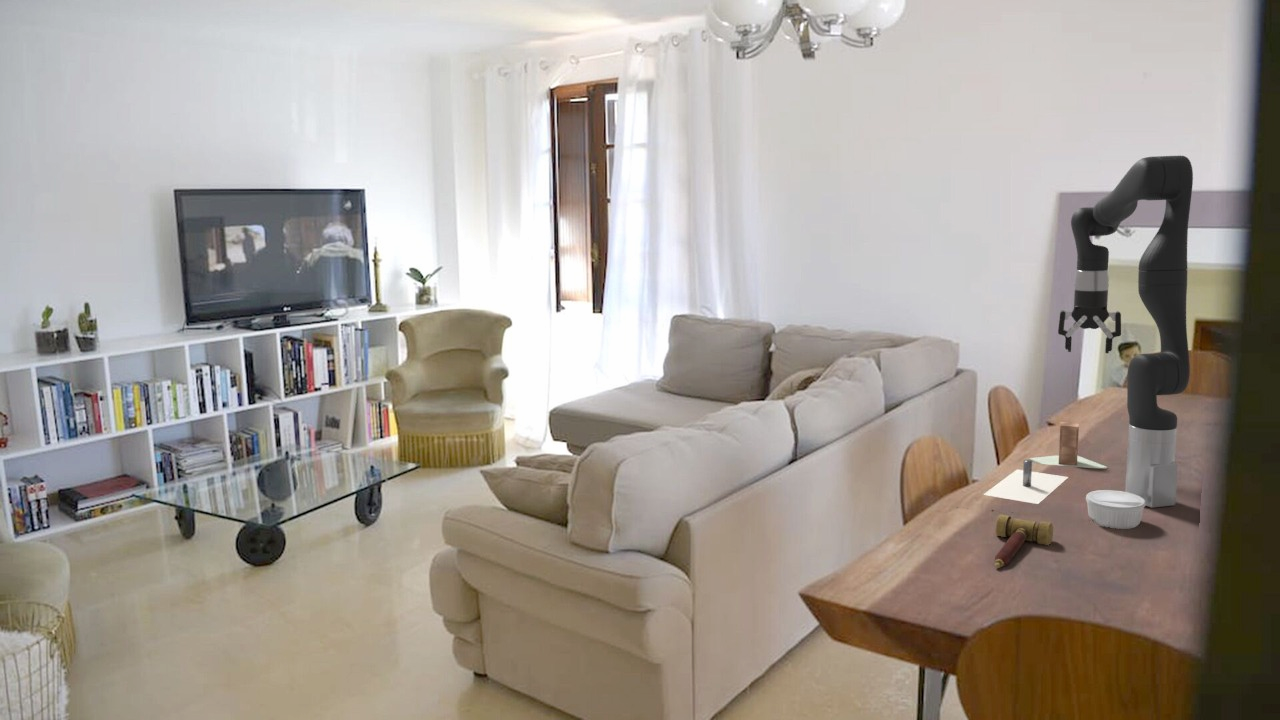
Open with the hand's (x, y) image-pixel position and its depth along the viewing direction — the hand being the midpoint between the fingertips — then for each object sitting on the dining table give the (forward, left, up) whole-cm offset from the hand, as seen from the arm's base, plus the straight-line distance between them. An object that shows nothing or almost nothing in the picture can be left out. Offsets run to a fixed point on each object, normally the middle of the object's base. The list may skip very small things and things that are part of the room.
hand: (1088, 352), depth 236 cm
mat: (-2, +6, -28) cm, 29 cm away
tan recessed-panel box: (-2, +6, -28) cm, 28 cm away
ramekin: (-41, +24, -28) cm, 55 cm away
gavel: (-50, +54, -29) cm, 79 cm away
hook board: (-17, +28, -28) cm, 43 cm away
